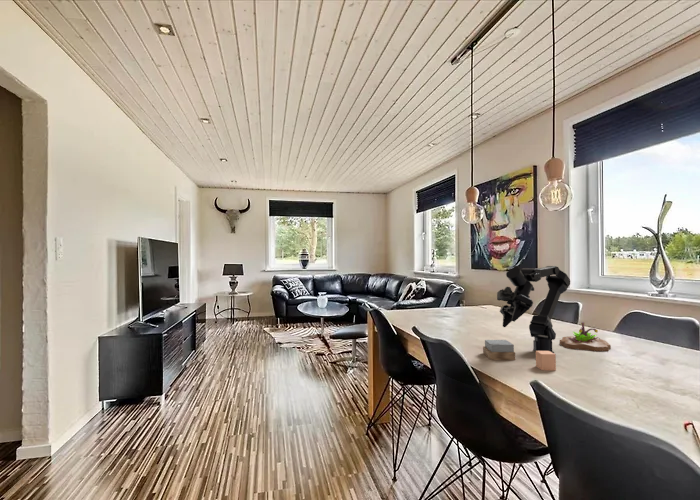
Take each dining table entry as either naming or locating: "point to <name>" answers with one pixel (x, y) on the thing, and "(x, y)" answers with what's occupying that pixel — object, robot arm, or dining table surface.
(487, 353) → the tower base
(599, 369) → the dining table surface
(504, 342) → the tower top
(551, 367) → the terracotta block
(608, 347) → the plant
